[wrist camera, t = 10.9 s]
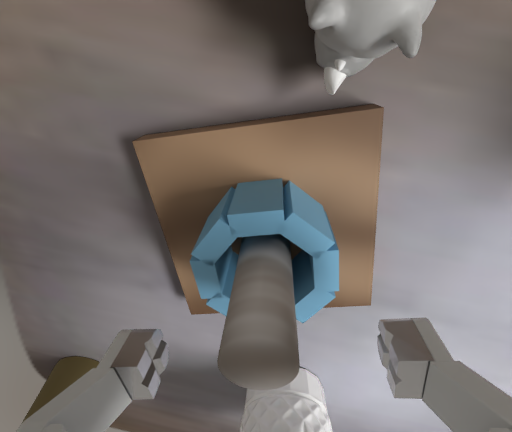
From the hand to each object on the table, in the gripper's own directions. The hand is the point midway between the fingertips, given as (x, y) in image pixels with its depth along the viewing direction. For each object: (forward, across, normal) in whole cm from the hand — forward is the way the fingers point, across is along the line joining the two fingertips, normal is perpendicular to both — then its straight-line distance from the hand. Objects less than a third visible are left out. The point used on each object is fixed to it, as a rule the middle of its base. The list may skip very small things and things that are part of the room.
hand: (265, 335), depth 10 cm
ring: (+6, 0, 0) cm, 6 cm away
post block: (+8, 0, -1) cm, 8 cm away
